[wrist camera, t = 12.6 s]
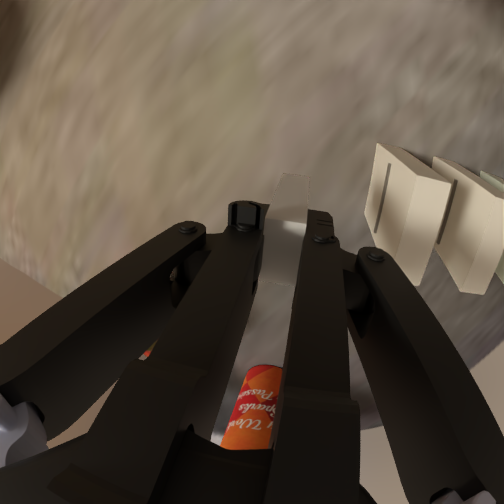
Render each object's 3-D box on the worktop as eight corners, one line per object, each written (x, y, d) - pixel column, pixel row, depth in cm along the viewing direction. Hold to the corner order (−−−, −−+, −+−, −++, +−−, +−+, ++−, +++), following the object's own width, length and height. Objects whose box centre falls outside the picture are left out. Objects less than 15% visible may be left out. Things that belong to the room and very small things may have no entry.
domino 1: (375, 142, 21) (414, 174, 12) (400, 147, 21) (451, 183, 12) (362, 213, 24) (384, 281, 15) (386, 217, 24) (419, 286, 15)
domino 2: (432, 155, 20) (493, 195, 12) (453, 161, 20) (519, 204, 12) (416, 222, 23) (458, 291, 15) (436, 227, 23) (483, 294, 14)
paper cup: (301, 362, 34) (286, 471, 22) (296, 397, 37) (282, 491, 25) (235, 354, 35) (201, 457, 23) (239, 390, 39) (212, 480, 27)
